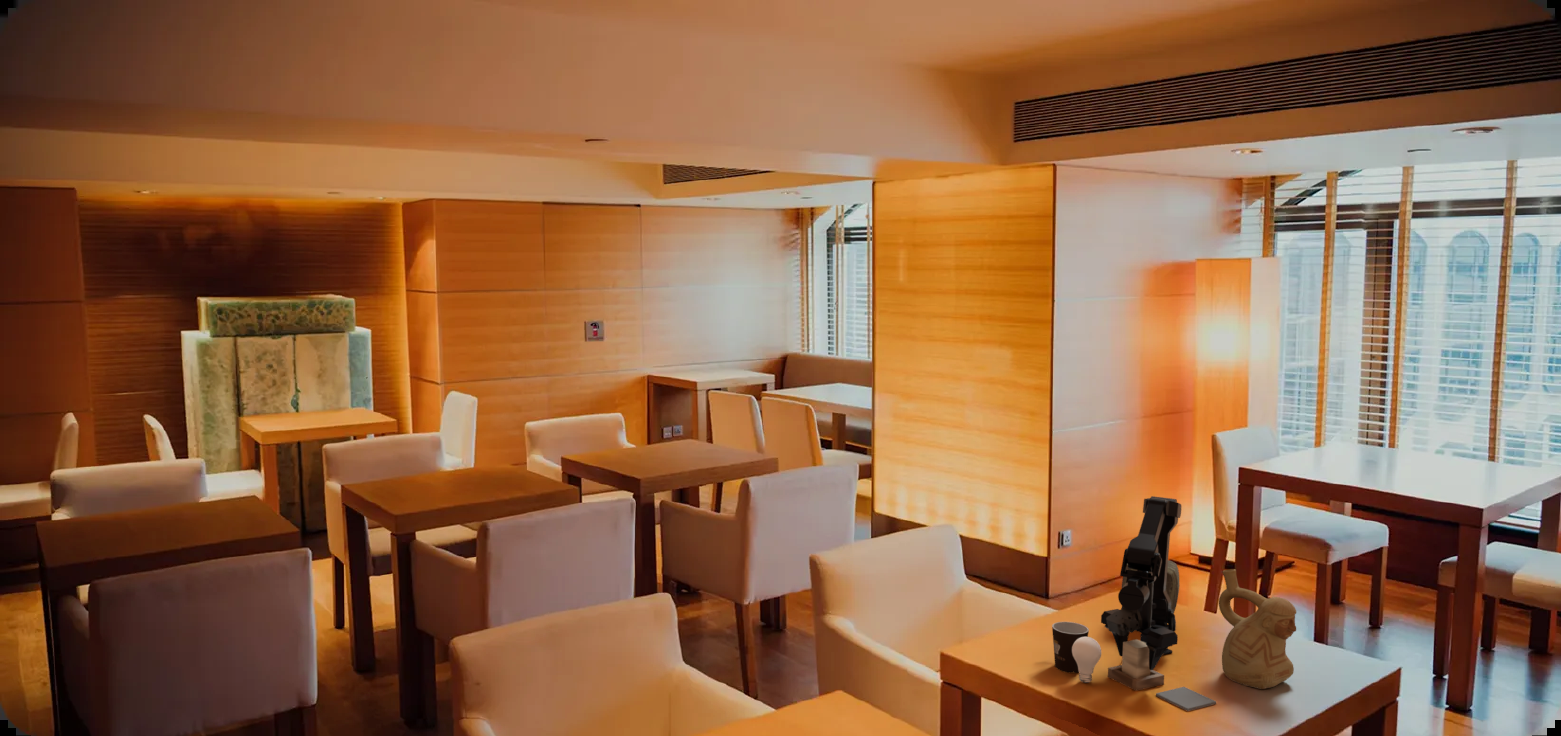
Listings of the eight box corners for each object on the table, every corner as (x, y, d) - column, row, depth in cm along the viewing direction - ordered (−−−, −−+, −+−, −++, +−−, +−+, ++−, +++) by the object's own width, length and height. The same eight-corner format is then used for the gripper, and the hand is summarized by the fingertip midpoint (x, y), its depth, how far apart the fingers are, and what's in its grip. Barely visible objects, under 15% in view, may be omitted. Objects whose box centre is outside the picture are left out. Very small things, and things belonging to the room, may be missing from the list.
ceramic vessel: (1270, 700, 232) (1277, 593, 229) (1194, 671, 248) (1200, 570, 246) (1313, 685, 240) (1320, 582, 238) (1237, 658, 257) (1243, 561, 255)
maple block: (1135, 675, 245) (1137, 639, 244) (1149, 682, 241) (1151, 645, 240) (1121, 678, 243) (1123, 641, 242) (1135, 685, 239) (1137, 648, 238)
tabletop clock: (1177, 623, 282) (1182, 535, 279) (1175, 634, 274) (1180, 542, 271) (1122, 615, 288) (1126, 528, 285) (1119, 625, 279) (1123, 536, 277)
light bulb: (1095, 690, 235) (1097, 644, 234) (1066, 684, 239) (1068, 638, 238) (1103, 681, 241) (1105, 636, 240) (1075, 674, 244) (1077, 630, 243)
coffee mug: (1088, 675, 244) (1090, 635, 243) (1051, 672, 246) (1053, 632, 245) (1084, 658, 255) (1086, 619, 254) (1048, 654, 257) (1050, 616, 256)
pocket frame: (1134, 670, 248) (1135, 661, 247) (1163, 684, 240) (1164, 674, 240) (1107, 676, 244) (1108, 667, 243) (1136, 690, 236) (1136, 681, 236)
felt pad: (1183, 688, 237) (1184, 686, 237) (1216, 703, 229) (1216, 701, 229) (1155, 695, 233) (1156, 693, 233) (1187, 711, 225) (1187, 708, 225)
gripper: (1085, 591, 244) (1082, 654, 246) (1145, 615, 228) (1142, 682, 229) (1119, 585, 250) (1116, 647, 251) (1181, 608, 233) (1177, 674, 235)
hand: (1136, 662), depth 241 cm, fingers open, 9 cm apart
